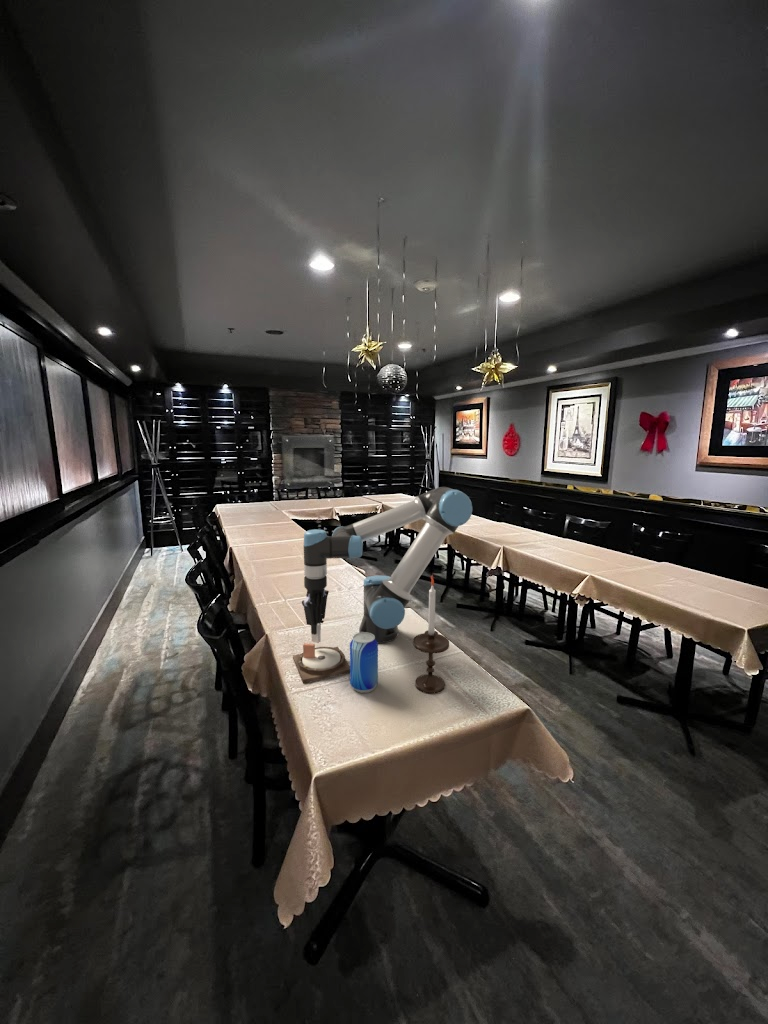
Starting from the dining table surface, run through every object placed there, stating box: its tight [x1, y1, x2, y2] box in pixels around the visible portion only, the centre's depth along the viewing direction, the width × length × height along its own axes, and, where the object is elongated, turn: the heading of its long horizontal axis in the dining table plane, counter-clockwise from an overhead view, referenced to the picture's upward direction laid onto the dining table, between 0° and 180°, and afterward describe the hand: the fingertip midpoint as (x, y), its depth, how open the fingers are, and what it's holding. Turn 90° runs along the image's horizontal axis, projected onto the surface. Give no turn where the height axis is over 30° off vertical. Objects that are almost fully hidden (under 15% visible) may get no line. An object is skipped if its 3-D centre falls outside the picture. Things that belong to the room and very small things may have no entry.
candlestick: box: [412, 574, 450, 695], centre depth 121 cm, size 11×11×35 cm
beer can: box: [349, 632, 379, 694], centre depth 121 cm, size 8×8×16 cm
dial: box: [302, 642, 341, 669], centre depth 134 cm, size 13×13×6 cm
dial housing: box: [292, 646, 350, 684], centre depth 134 cm, size 16×16×3 cm
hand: (316, 641), depth 139 cm, fingers closed
